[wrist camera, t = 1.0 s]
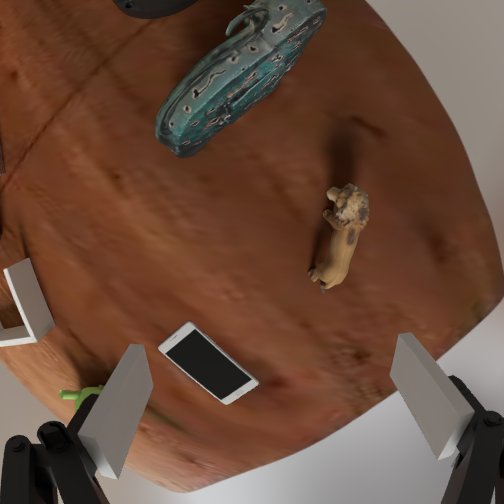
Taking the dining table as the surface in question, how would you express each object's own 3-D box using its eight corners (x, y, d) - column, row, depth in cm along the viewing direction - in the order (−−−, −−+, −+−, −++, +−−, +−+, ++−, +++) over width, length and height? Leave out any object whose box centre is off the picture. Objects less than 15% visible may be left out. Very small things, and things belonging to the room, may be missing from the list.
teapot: (138, 426, 49) (126, 458, 41) (86, 415, 49) (69, 443, 41) (129, 382, 46) (112, 414, 38) (72, 370, 46) (50, 398, 38)
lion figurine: (315, 179, 38) (333, 182, 30) (355, 183, 39) (382, 187, 30) (304, 289, 42) (317, 319, 33) (342, 291, 42) (362, 320, 34)
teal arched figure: (278, 36, 34) (299, -56, 14) (314, 68, 35) (365, -6, 15) (166, 137, 37) (92, 112, 18) (201, 171, 38) (153, 174, 19)
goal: (-20, 276, 42) (-40, 287, 36) (29, 257, 41) (6, 268, 35) (3, 334, 45) (-14, 348, 39) (55, 325, 44) (37, 342, 38)
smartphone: (226, 406, 47) (156, 348, 44) (226, 403, 48) (157, 346, 45) (260, 383, 46) (189, 320, 43) (260, 381, 46) (190, 318, 44)
